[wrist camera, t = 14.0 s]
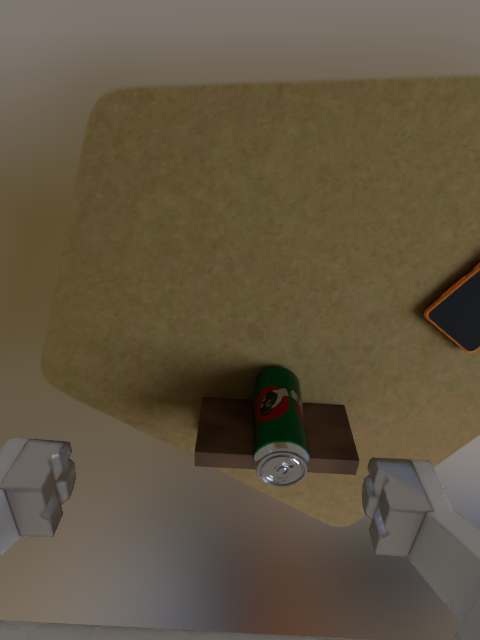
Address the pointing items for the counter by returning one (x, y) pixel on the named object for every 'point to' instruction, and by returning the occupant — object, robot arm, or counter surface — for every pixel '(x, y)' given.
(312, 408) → the brown rectangular block
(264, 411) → the soda can
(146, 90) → the counter surface
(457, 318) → the smartphone
